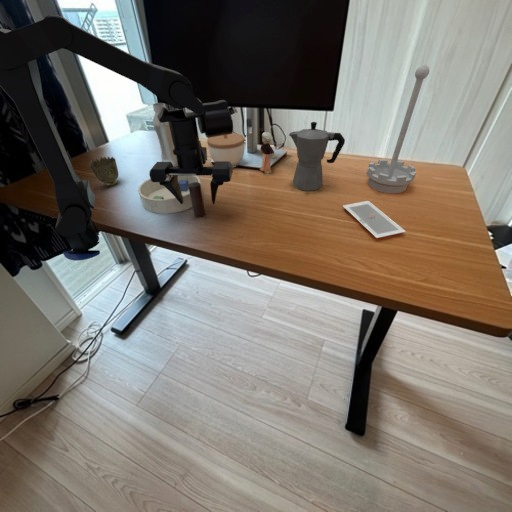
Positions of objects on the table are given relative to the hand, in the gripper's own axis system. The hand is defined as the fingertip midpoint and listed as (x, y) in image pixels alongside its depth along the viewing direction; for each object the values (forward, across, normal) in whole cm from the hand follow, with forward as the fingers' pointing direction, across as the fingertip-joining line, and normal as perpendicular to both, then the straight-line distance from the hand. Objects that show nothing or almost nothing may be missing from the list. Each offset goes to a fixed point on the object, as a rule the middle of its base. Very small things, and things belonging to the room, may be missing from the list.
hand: (198, 203), depth 69 cm
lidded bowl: (+4, -3, -34) cm, 34 cm away
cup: (+4, +33, -18) cm, 38 cm away
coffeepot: (+4, -31, -18) cm, 36 cm away
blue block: (+3, +8, -14) cm, 16 cm away
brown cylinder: (+4, 0, 0) cm, 4 cm away
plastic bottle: (+4, +17, -33) cm, 37 cm away
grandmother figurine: (+4, -17, -28) cm, 33 cm away
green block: (+3, +12, -4) cm, 14 cm away
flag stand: (+4, -54, -18) cm, 57 cm away
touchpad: (+4, -44, +2) cm, 44 cm away
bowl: (+4, +10, -9) cm, 14 cm away
